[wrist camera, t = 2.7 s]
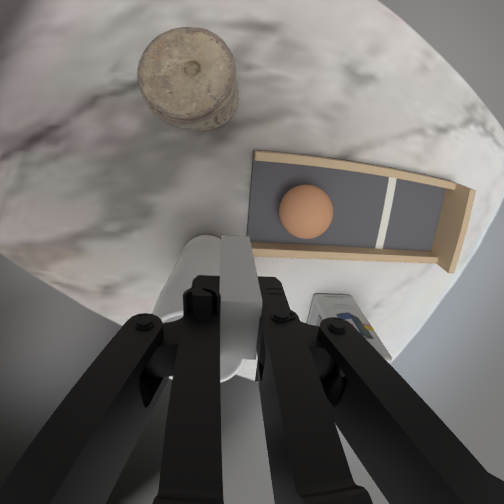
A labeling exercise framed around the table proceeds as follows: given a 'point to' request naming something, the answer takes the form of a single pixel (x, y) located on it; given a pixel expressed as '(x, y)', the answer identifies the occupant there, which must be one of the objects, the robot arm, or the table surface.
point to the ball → (306, 211)
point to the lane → (360, 211)
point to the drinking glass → (186, 269)
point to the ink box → (345, 317)
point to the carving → (189, 79)
